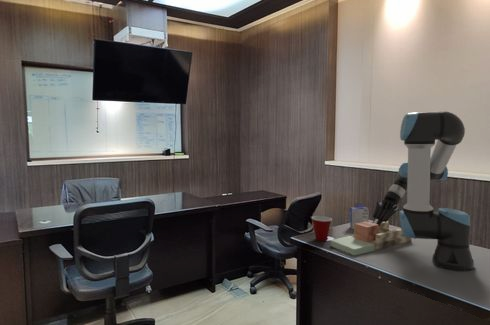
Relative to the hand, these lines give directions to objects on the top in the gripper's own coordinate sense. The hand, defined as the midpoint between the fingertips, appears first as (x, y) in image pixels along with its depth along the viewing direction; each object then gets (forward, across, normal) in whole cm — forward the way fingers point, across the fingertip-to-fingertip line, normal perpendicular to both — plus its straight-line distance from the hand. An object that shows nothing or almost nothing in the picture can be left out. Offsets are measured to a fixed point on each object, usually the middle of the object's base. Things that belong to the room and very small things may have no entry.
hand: (372, 230), depth 176 cm
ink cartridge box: (-5, +22, -14) cm, 27 cm away
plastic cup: (+18, +17, +9) cm, 26 cm away
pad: (+15, -1, +7) cm, 16 cm away
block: (+6, -1, +2) cm, 6 cm away
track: (+1, -1, -8) cm, 8 cm away
